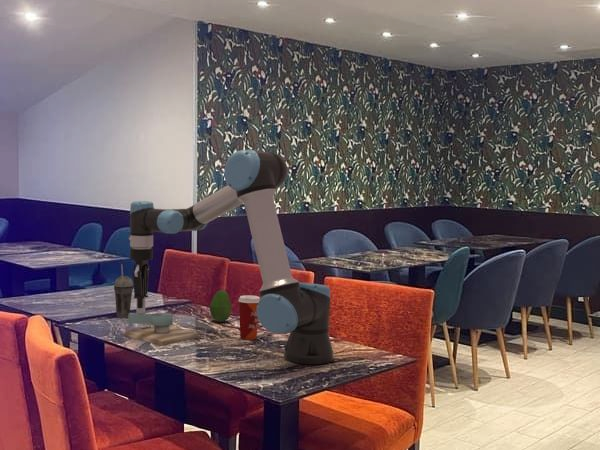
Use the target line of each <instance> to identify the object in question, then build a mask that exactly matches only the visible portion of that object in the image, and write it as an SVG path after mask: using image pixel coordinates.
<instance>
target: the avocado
mask: <svg viewBox="0 0 600 450" xmlns="http://www.w3.org/2000/svg"><path fill="white" fill-rule="evenodd" d="M212 297H213V298H212V299H211V301H210V304H209V313H210V315H211V317H212V319H213V320H215V321H216V322H218V323H223V322H226V321H227V320H228V319H229V318H230V317H231V313H232V304H231V300H230V298H229V293H228V292H227V291H226V290H225V289H220V290H217V291H216V292H215V294H214V295H213V296H212Z"/></svg>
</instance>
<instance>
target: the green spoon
mask: <svg viewBox="0 0 600 450" xmlns="http://www.w3.org/2000/svg"><path fill="white" fill-rule="evenodd" d="M173 319H174V315H173V314H172V313H169V312H168V313H167V312H156V313H146V312H145V313H136V312H130V313H129V314H128V318H127V321H128V324H137V325H138V324H139V325H143V324H144V325H151V326H172V325H173V323H174V322H173Z"/></svg>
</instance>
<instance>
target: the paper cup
mask: <svg viewBox="0 0 600 450" xmlns="http://www.w3.org/2000/svg"><path fill="white" fill-rule="evenodd" d="M260 299H261V296H257V295H249V294H248V295H245V294H244V295H240V297H239V299H237V302H239V303H238V307H239V310H238V311H239V315H238V317H239V339H241V340H246V341H247V340H249V341H252V340H256V339H257V335H258V327H259V320H258V317H257V305H258V302H259V300H260Z"/></svg>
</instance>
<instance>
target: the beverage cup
mask: <svg viewBox="0 0 600 450" xmlns="http://www.w3.org/2000/svg"><path fill="white" fill-rule="evenodd" d="M120 269H121V270H120V271H121V275H120V276H119V277H117V278H116V279H115V281H114V285H113V290H114V299H115V314H116V318H119V319H128V314H129V313H131V304H132V298H133V297H132V295H133V292H134V283H133V279H132V278H131V277H129V276H127V275H124V271H123V270H124V267H123V264H122V263H121V264H120Z"/></svg>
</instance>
